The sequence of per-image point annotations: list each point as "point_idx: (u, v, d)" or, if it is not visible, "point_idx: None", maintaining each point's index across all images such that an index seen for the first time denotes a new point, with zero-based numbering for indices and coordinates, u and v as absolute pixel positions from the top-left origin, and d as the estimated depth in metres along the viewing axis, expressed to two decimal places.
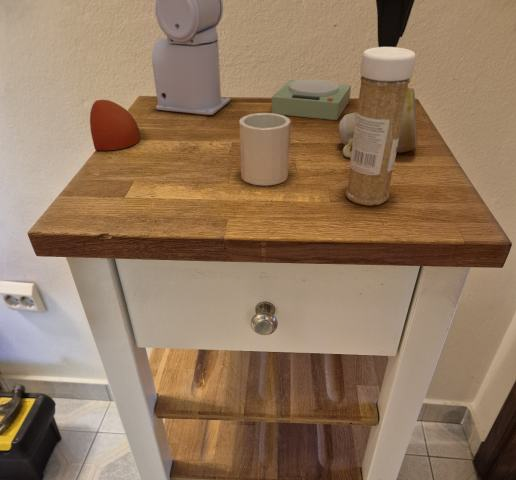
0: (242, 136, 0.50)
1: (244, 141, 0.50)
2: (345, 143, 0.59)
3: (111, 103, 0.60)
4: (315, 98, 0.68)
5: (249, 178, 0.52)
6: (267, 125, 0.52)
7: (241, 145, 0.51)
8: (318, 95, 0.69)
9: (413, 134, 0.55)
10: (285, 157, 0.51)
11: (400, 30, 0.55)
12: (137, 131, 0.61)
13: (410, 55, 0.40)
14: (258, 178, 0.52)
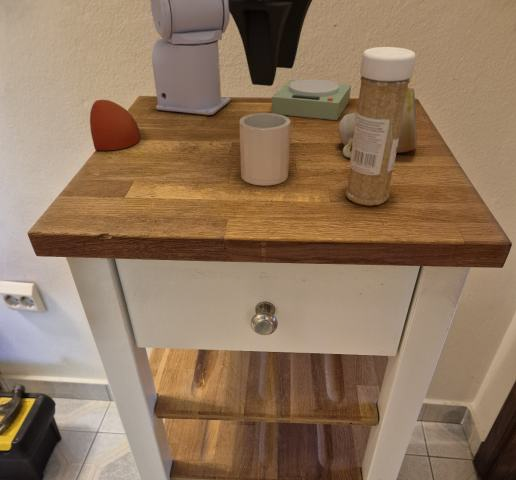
0: (242, 136, 0.50)
1: (244, 141, 0.50)
2: (345, 143, 0.59)
3: (111, 103, 0.60)
4: (315, 98, 0.68)
5: (249, 178, 0.52)
6: (267, 125, 0.52)
7: (241, 145, 0.51)
8: (318, 95, 0.69)
9: (413, 134, 0.55)
10: (285, 157, 0.51)
11: (273, 64, 0.45)
12: (137, 131, 0.61)
13: (410, 55, 0.40)
14: (258, 178, 0.52)
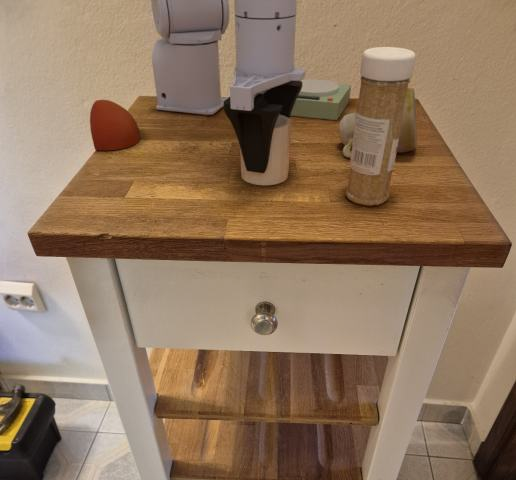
0: None
1: None
2: (345, 143, 0.59)
3: (111, 103, 0.60)
4: (315, 98, 0.68)
5: (249, 178, 0.52)
6: None
7: None
8: (318, 95, 0.69)
9: (413, 134, 0.55)
10: (285, 157, 0.51)
11: (265, 156, 0.49)
12: (137, 131, 0.61)
13: (410, 55, 0.40)
14: (258, 178, 0.52)
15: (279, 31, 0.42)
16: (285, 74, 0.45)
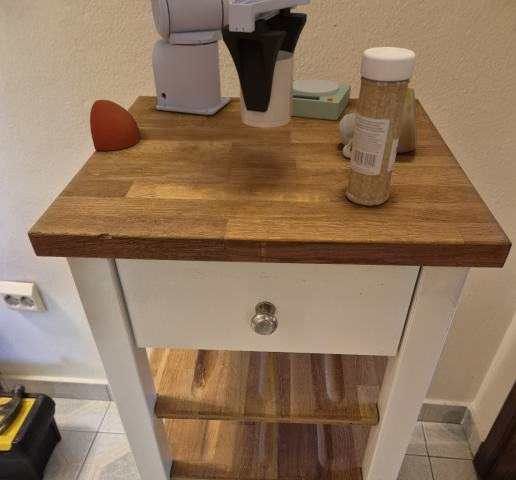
0: None
1: None
2: (345, 143, 0.59)
3: (111, 103, 0.60)
4: (315, 98, 0.68)
5: (249, 120, 0.48)
6: None
7: None
8: (318, 95, 0.69)
9: (413, 134, 0.55)
10: (288, 96, 0.47)
11: (267, 91, 0.45)
12: (137, 131, 0.61)
13: (410, 55, 0.40)
14: (259, 119, 0.48)
15: None
16: None
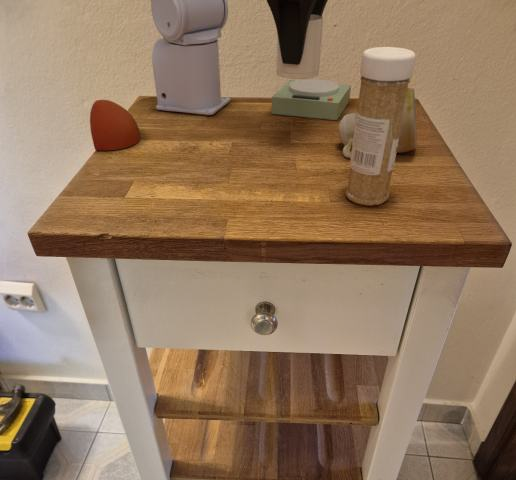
0: None
1: None
2: (345, 143, 0.59)
3: (111, 103, 0.60)
4: (315, 98, 0.68)
5: (285, 72, 0.58)
6: None
7: (278, 40, 0.57)
8: (318, 95, 0.69)
9: (413, 134, 0.55)
10: (317, 52, 0.57)
11: (301, 46, 0.55)
12: (137, 131, 0.61)
13: (410, 55, 0.40)
14: (293, 71, 0.58)
15: None
16: None
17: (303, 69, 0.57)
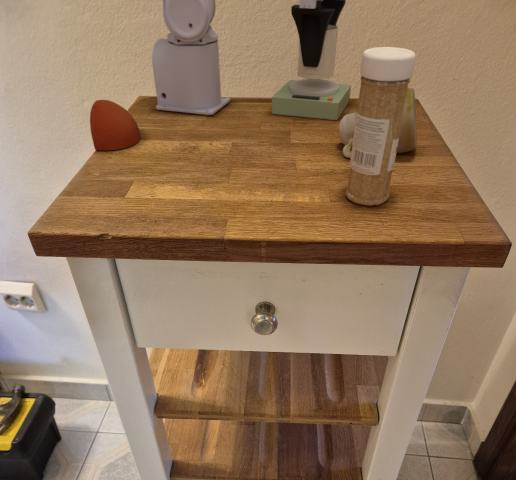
0: None
1: None
2: (345, 143, 0.59)
3: (111, 103, 0.60)
4: (315, 98, 0.68)
5: (305, 73, 0.69)
6: None
7: (300, 46, 0.67)
8: (318, 95, 0.69)
9: (413, 134, 0.55)
10: (333, 56, 0.68)
11: (319, 52, 0.65)
12: (137, 131, 0.61)
13: (410, 55, 0.40)
14: (312, 73, 0.68)
15: None
16: None
17: (321, 71, 0.68)
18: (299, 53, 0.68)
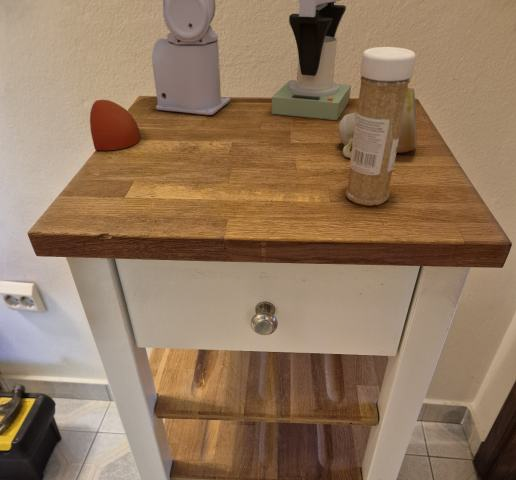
0: None
1: None
2: (345, 143, 0.59)
3: (111, 103, 0.60)
4: (315, 98, 0.68)
5: (304, 84, 0.69)
6: None
7: None
8: (318, 95, 0.69)
9: (413, 134, 0.55)
10: (332, 67, 0.69)
11: (317, 60, 0.65)
12: (137, 131, 0.61)
13: (410, 55, 0.40)
14: (311, 84, 0.69)
15: None
16: None
17: (320, 82, 0.69)
18: (298, 64, 0.69)
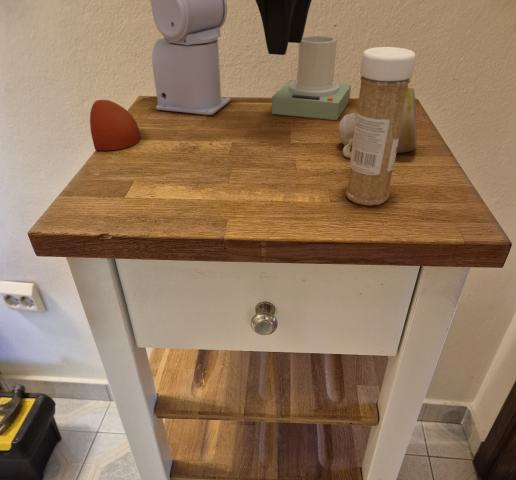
0: (301, 50, 0.67)
1: (302, 54, 0.67)
2: (345, 143, 0.59)
3: (111, 103, 0.60)
4: (315, 98, 0.68)
5: (304, 84, 0.69)
6: None
7: (299, 58, 0.68)
8: (318, 95, 0.69)
9: (413, 134, 0.55)
10: (332, 67, 0.69)
11: (286, 37, 0.56)
12: (137, 131, 0.61)
13: (410, 55, 0.40)
14: (311, 84, 0.69)
15: None
16: None
17: (320, 82, 0.69)
18: (298, 64, 0.69)
